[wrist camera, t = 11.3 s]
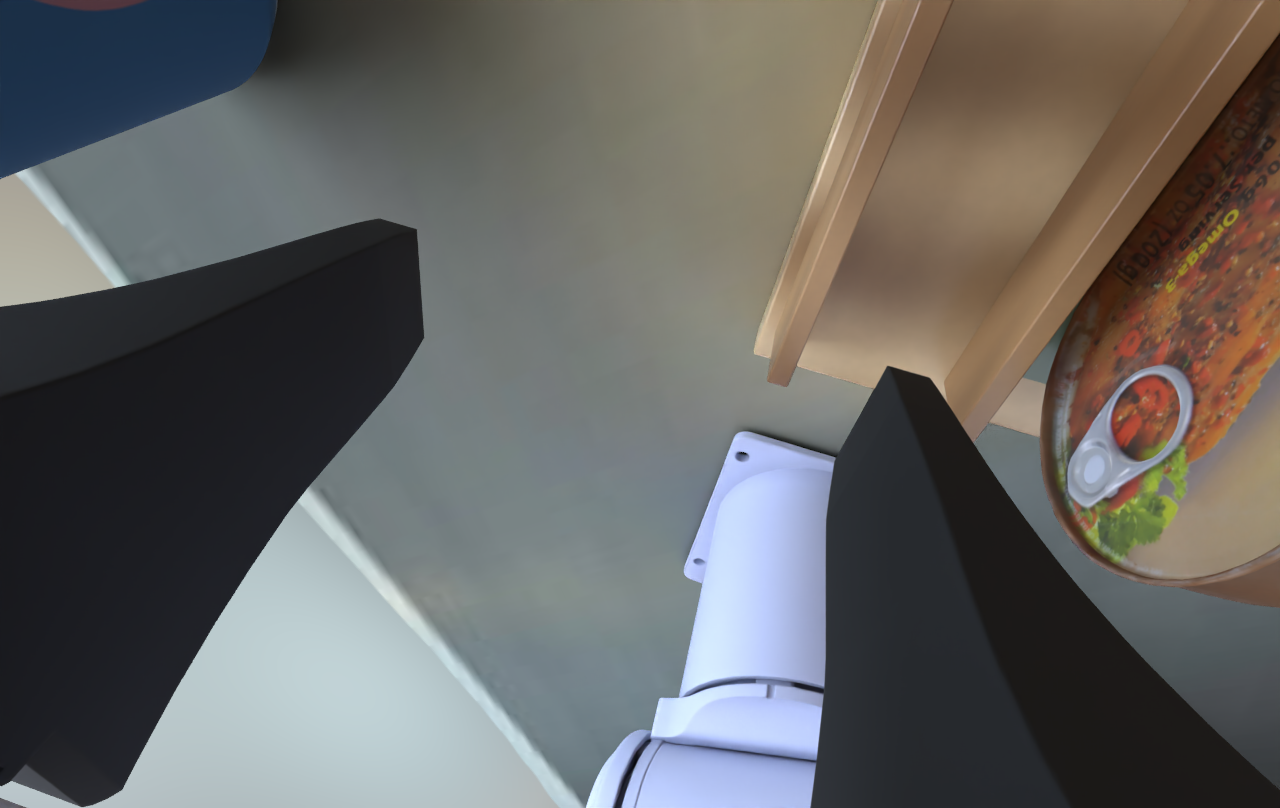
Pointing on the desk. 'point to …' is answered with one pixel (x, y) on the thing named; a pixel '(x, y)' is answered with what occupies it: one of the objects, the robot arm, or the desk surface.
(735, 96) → the desk surface
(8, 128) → the soda can
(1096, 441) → the tin
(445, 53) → the desk surface
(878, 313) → the rack
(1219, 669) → the desk surface
